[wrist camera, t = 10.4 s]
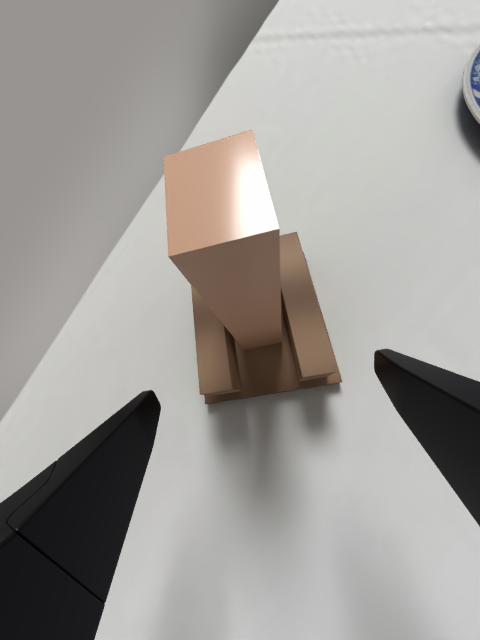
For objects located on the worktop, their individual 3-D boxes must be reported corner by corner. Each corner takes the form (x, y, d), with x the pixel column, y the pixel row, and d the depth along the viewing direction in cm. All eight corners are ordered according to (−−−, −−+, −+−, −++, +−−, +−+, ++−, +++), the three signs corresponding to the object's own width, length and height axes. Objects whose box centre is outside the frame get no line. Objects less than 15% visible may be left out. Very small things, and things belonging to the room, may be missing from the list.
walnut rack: (339, 382, 16) (357, 377, 12) (208, 403, 18) (186, 405, 14) (302, 257, 20) (307, 223, 16) (197, 282, 21) (177, 255, 17)
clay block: (281, 342, 17) (279, 228, 6) (243, 349, 18) (168, 256, 6) (271, 296, 19) (252, 129, 7) (236, 304, 19) (163, 156, 7)
